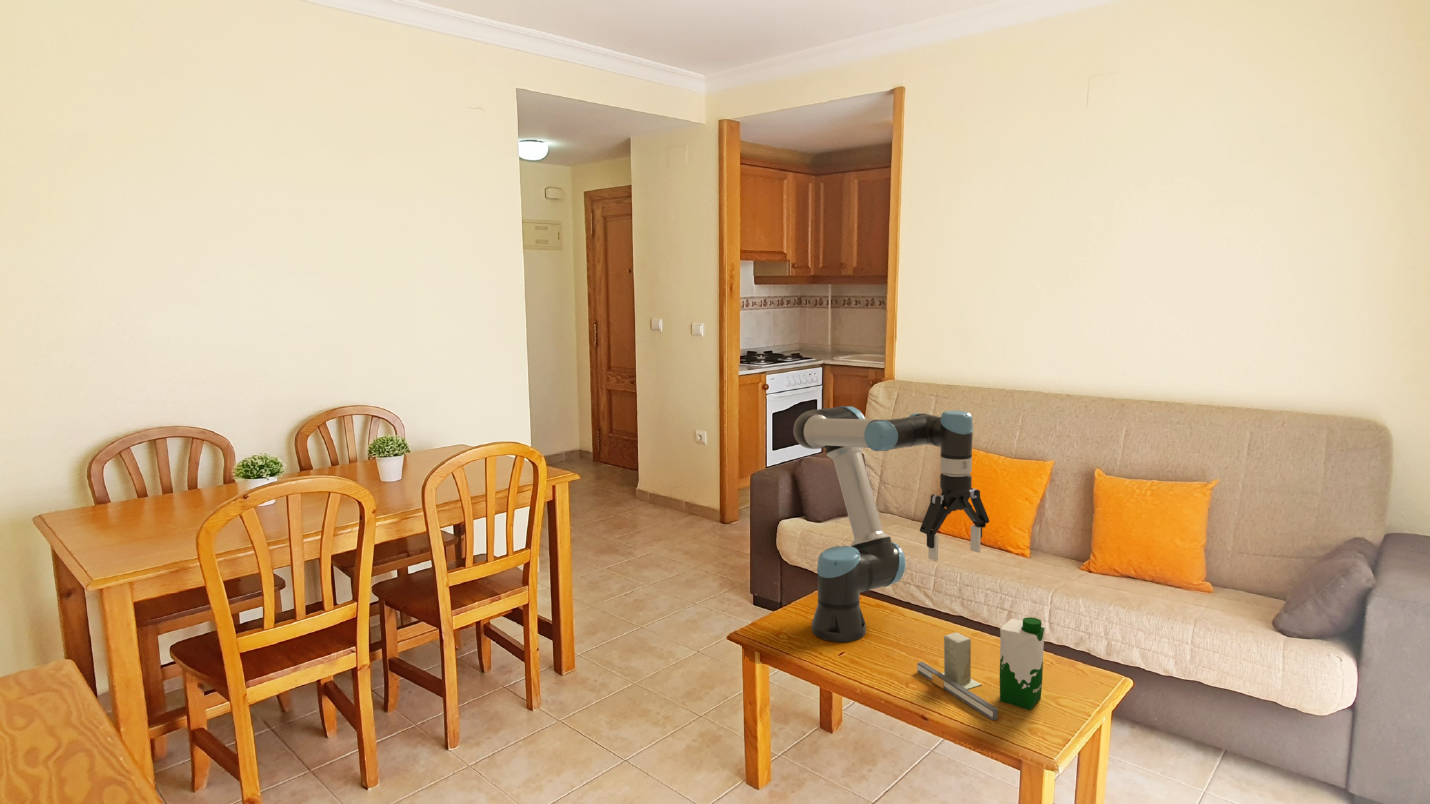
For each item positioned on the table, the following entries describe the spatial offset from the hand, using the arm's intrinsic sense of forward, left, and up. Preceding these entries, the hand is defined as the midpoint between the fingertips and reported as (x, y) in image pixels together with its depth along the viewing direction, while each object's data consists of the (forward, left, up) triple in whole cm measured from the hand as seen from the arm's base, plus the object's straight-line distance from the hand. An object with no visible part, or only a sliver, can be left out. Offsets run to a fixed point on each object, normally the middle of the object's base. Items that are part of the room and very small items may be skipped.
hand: (954, 555), depth 206 cm
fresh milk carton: (+22, +1, -29) cm, 36 cm away
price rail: (+13, -11, -29) cm, 33 cm away
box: (+8, -6, -29) cm, 30 cm away
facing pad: (+8, -6, -29) cm, 30 cm away
